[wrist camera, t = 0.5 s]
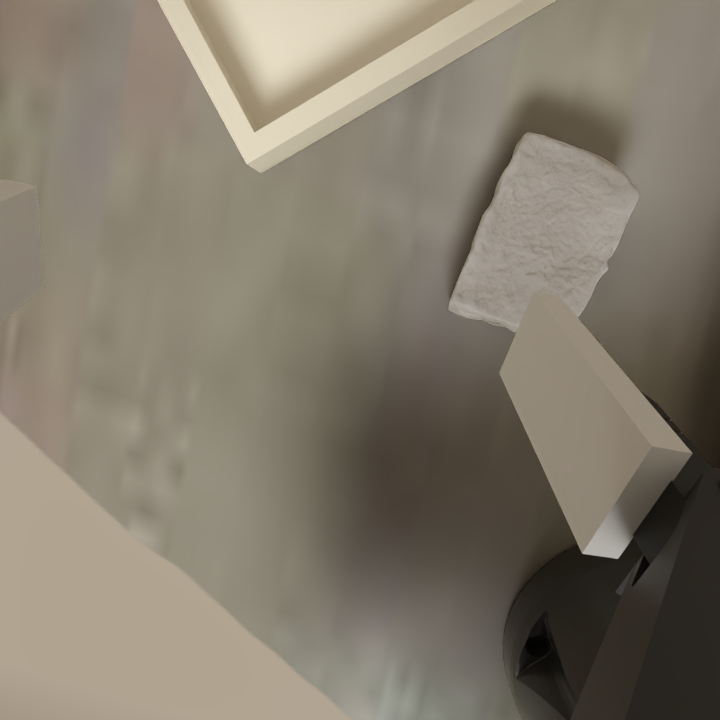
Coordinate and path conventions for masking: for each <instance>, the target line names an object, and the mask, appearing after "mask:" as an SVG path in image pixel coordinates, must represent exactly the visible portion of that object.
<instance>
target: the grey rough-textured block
mask: <svg viewBox="0 0 720 720" xmlns="http://www.w3.org/2000/svg"><path fill="white" fill-rule="evenodd" d="M639 195H640V191H639V190H638V189H637V188H636V187H635V186H634V185H633V184H632V183H631V181H630V179H629V178H628V176H627V175H626V174H625V173H624V172H623V171H621V170H620V169H618V168H617V167H616V166H615V165H614V164H612V163H611V162H609V161H608V160H606V159H605V158H603V157H601V156H599V155H597V154H594V153H592V152H589V151H587V150H584V149H580V148H578V147H575V146H573V145H570V144H567V143H565V142H562V141H559V140H556V139H553V138H549V137H547V136H546V135H542V134H537V133H530V132H528V133H526V134H524V135H523V136H522V138H521V140H520V141H519V142H518V143H517V145H516V147H515V150H514V152H513V156H512V159H511V161H510V164H509V165H508V166H507V167H506V168H505V170H504V172H503V173H502V175H501V177H500V180H499V181H498V183H497V186H496V189H495V195H494V197H493V199H492V202H491V204H490V206H489V207H488V208H487V209H486V211H485V212H484V213H483V216H482V218H481V221H480V224H479V226H478V228H477V232H476V234H475V237H474V239H473V242H472V247H471V250H470V253H469V255H468V257H467V259H466V262H465V264H464V266H463V268H462V271H461V273H460V275H459V277H458V280H457V283H456V285H455V289H454V291H453V293H452V296H451V298H450V302H449V305H448V310H449V311H451V312H453V313H455V314H457V315H459V316H462V317H465V318H469V319H473V320H476V319H479V320H482V321H485V322H487V323H489V324H491V325H494V326H500V327H506V328H508V329H509V330H510V331H512V332H517V330H518V327H519V325H520V322H521V320H522V318H523V315H524V313H525V311H526V308H527V306H528V303H529V301H530V299H531V296H532V294H533V292H534V291H537V292H542V293H546V294H551V295H556V296H560V298H561V299H562V300H563V301H564V302H565V303H566V305H567V306H568V307H569V308H570V309H571V311H572V312H573V313H574V314H575V315H576V316H577V318H578V317H579V316H580V314H581V313H582V311H583V310H584V308H585V307H586V305H587V303H588V301H589V299H590V298H591V296H592V293H593V291H594V288H595V286H596V284H597V282H598V280H599V279H600V278H601V276H602V275H603V274H604V273H606V272H607V270H608V268H609V267H608V264H607V260H608V259H609V258H610V257H611V256H612V255H613V253H614V252H615V250H616V248H617V247H618V244H619V241H620V239H621V236H622V233H623V232H624V230H625V228H626V225H627V223H628V220H629V218H630V215H631V213H632V211H633V209H634V207H635V206H636V204H637V201H638V199H639Z"/></svg>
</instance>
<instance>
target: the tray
mask: <svg viewBox="0 0 720 720" xmlns="http://www.w3.org/2000/svg"><path fill="white" fill-rule="evenodd" d="M157 1H158V2H159V4H160V6H161V8H162V10H163V12H164V13H165V15H166V17H167V19H168V21H169V23H170V24H171V26H172V28H173V30H174V32H175V34H176V35H177V37H178V39H179V41H180V43H181V45H182V46H183V48H184V50H185V52H186V54H187V56H188V57H189V59H190V61H191V63H192V65H193V67H194V68H195V70H196V72H197V74H198V76H199V78H200V79H201V81H202V83H203V85H204V87H205V89H206V90H207V92H208V94H209V96H210V98H211V100H212V101H213V103H214V105H215V107H216V109H217V111H218V112H219V114H220V116H221V118H222V120H223V122H224V123H225V125H226V127H227V129H228V131H229V133H230V134H231V136H232V138H233V140H234V142H235V144H236V145H237V147H238V149H239V151H240V153H241V155H242V156H243V158H244V160H245V162H246V164H247V165H249V166H250V167H252V168H254V169H255V170H257V171H259V172H260V173H263V172H265V171H267V170H268V169H270V168H272V167H273V166H275V165H277V164H278V163H280V162H282V161H284V160H285V159H287V158H289V157H290V156H292V155H294V154H296V153H297V152H299V151H301V150H302V149H304V148H306V147H307V146H309V145H311V144H313V143H314V142H316V141H318V140H319V139H321V138H323V137H325V136H326V135H328V134H330V133H331V132H333V131H335V130H337V129H338V128H340V127H342V126H343V125H345V124H347V123H348V122H350V121H352V120H354V119H355V118H357V117H359V116H360V115H362V114H364V113H366V112H367V111H369V110H371V109H372V108H374V107H376V106H377V105H379V104H381V103H383V102H384V101H386V100H388V99H389V98H391V97H393V96H395V95H396V94H398V93H400V92H401V91H403V90H405V89H406V88H408V87H410V86H412V85H413V84H415V83H417V82H418V81H420V80H422V79H424V78H425V77H427V76H429V75H430V74H432V73H434V72H436V71H437V70H439V69H441V68H442V67H444V66H446V65H447V64H449V63H451V62H453V61H454V60H456V59H458V58H459V57H461V56H463V55H465V54H466V53H468V52H470V51H471V50H473V49H475V48H476V47H478V46H480V45H482V44H483V43H485V42H487V41H488V40H490V39H492V38H494V37H495V36H497V35H499V34H500V33H502V32H504V31H505V30H507V29H509V28H511V27H512V26H514V25H516V24H517V23H519V22H521V21H523V20H524V19H526V18H528V17H529V16H531V15H533V14H535V13H536V12H538V11H540V10H541V9H543V8H545V7H546V6H548V5H550V4H552V3H553V2H555V1H557V0H157Z"/></svg>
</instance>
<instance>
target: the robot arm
mask: <svg viewBox="0 0 720 720" xmlns="http://www.w3.org/2000/svg"><path fill="white" fill-rule="evenodd" d="M44 288H45V276H44V265H43V253H42V241H41V229H40V217H39V206H38V194H37V186H35V185H30V184H25V183H20V182H16V181H11V180H6V179H3V180H0V323H1V322H2V321H3V320H5V319H6V318H7V317H8V316H10V315H11V314H12V313H14V312H15V311H16V310H17V309H19V308H20V307H21V306H23V305H24V304H25V303H26V302H28V301H29V300H30V299H32V298H33V297H34V296H35V295H37V294H38V293H39V292H40V291H42V290H43V289H44ZM499 374H500V376H501V378H502V380H503V383H504V385H505V387H506V389H507V391H508V394H509V396H510V398H511V400H512V402H513V404H514V407H515V409H516V411H517V413H518V415H519V417H520V420H521V422H522V424H523V426H524V428H525V431H526V433H527V435H528V437H529V439H530V441H531V444H532V446H533V448H534V450H535V452H536V454H537V457H538V459H539V461H540V463H541V465H542V467H543V470H544V472H545V474H546V476H547V478H548V481H549V483H550V485H551V487H552V489H553V491H554V494H555V496H556V498H557V500H558V502H559V504H560V507H561V509H562V511H563V513H564V515H565V518H566V520H567V522H568V524H569V526H570V528H571V531H572V533H573V535H574V537H575V539H576V541H577V544H578V546H576V547H573V548H571V549H569V550H568V551H566V552H564V553H562V554H561V555H559V556H558V557H556V558H555V559H553V560H552V561H550V562H549V563H548V564H546V565H545V566H544V567H543V568H542V569H541V570H540V571H538V572H537V573H536V574H535V575H534V576H533V577H532V579H531V580H530V581H529V582H528V583H527V584H526V586H525V587H524V588H523V590H522V591H521V593H520V594H519V596H518V598H517V599H516V601H515V603H514V605H513V607H512V609H511V612H510V614H509V617H508V620H507V623H506V627H505V632H504V639H503V657H504V665H505V669H506V673H507V677H508V680H509V683H510V687H511V690H512V694H513V697H514V700H515V703H516V706H517V708H518V711H519V713H520V715H521V717H522V719H523V720H720V468H712V467H711V465H710V464H709V463H708V462H707V461H706V460H705V458H704V457H703V456H702V455H701V454H700V453H699V452H698V450H697V449H696V448H695V447H694V446H693V445H692V443H691V442H690V441H689V440H688V439H687V438H686V437H685V435H684V434H681V433H680V430H679V428H678V427H677V426H676V425H675V424H674V423H673V422H672V421H670V418H669V417H668V416H667V415H666V413H665V412H664V411H663V410H662V409H661V408H660V407H659V405H658V404H657V403H655V402H654V401H653V400H651V399H650V398H649V397H647V396H646V395H645V394H643V393H642V392H641V391H639V390H638V388H637V387H636V386H635V385H634V384H633V382H632V381H631V380H630V379H629V378H628V377H627V375H626V374H625V373H624V372H623V371H622V370H621V368H620V367H619V366H618V365H617V364H616V362H615V361H614V360H613V359H612V358H611V357H610V355H609V354H608V353H607V352H606V351H605V349H604V348H603V347H602V346H601V345H600V344H599V342H598V341H597V340H596V339H595V338H594V336H593V335H592V334H591V333H590V332H589V331H588V329H587V328H586V327H585V326H584V325H583V324H582V322H581V321H580V320H579V319H578V318H577V316H576V315H575V314H574V313H573V312H572V311H571V309H570V308H569V307H568V306H567V305H566V303H565V302H564V301H563V300H562V299H561V298H560V296H556V295H551V294H546V293H542V292H537V291H534V292H533V294H532V296H531V299H530V301H529V303H528V306H527V308H526V311H525V313H524V315H523V318H522V320H521V322H520V325H519V327H518V330H517V332H516V334H515V337H514V339H513V341H512V344H511V346H510V348H509V351H508V353H507V356H506V358H505V360H504V363H503V365H502V367H501V370H500V372H499Z"/></svg>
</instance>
